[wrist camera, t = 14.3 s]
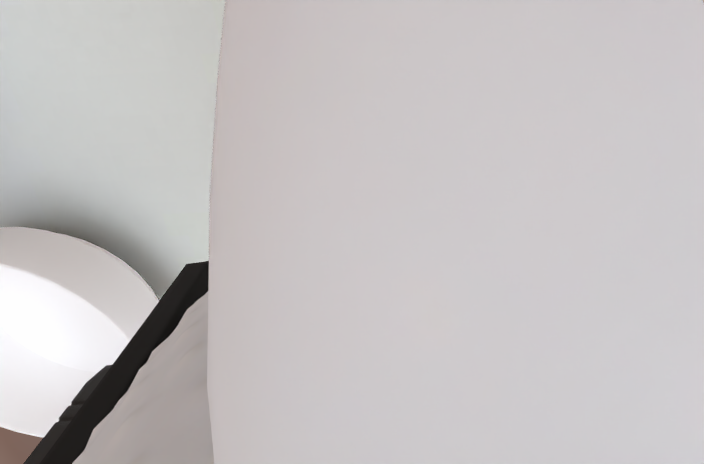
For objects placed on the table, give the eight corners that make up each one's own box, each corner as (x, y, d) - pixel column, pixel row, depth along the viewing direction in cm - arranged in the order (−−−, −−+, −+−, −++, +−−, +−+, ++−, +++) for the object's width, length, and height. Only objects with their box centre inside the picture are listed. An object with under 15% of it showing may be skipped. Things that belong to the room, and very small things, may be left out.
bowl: (-60, 196, 32) (-189, 248, 24) (172, 209, 32) (114, 265, 24) (26, 360, 41) (-48, 433, 34) (205, 370, 41) (170, 446, 34)
